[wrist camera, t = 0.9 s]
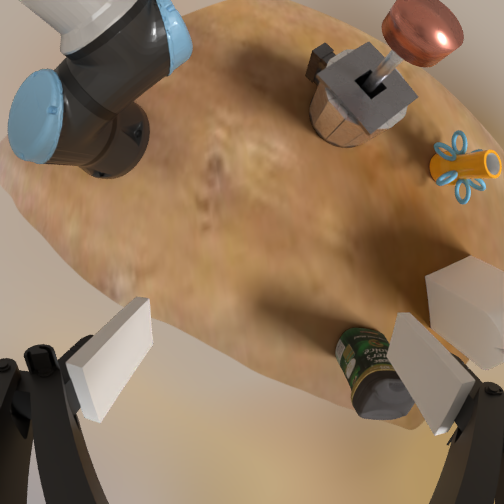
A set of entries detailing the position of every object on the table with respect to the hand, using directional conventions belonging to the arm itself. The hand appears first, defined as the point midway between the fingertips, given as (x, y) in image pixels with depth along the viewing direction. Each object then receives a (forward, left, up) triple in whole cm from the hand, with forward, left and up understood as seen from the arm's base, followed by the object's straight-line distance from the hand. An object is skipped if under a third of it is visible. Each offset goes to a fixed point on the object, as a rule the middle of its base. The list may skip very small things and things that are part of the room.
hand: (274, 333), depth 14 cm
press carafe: (-10, +22, -33) cm, 41 cm away
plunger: (-8, +22, -24) cm, 34 cm away
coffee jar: (+26, 0, -33) cm, 42 cm away
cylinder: (+10, +32, -33) cm, 47 cm away
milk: (+31, +21, -33) cm, 50 cm away
